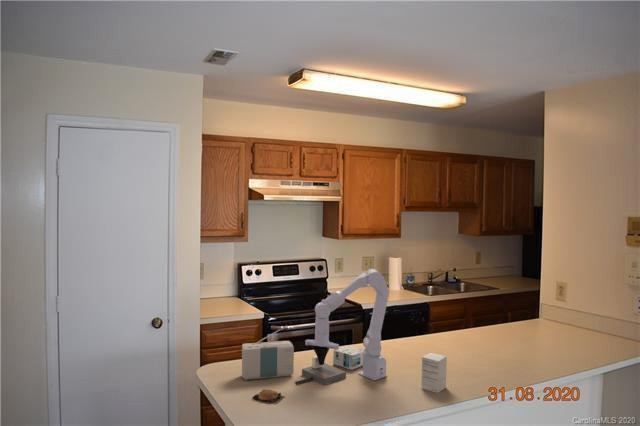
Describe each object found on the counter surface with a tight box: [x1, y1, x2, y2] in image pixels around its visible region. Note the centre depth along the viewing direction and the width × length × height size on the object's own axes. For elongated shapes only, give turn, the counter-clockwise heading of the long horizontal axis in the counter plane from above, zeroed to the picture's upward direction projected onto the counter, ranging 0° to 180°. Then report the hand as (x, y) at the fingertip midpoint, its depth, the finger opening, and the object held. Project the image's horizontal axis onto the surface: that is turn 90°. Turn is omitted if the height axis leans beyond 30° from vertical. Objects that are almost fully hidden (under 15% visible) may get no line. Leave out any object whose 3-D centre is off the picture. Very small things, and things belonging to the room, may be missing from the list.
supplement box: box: [421, 352, 447, 394], centre depth 191 cm, size 7×7×13 cm
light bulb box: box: [332, 345, 365, 371], centre depth 216 cm, size 11×7×11 cm
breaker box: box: [301, 362, 347, 386], centre depth 202 cm, size 14×12×2 cm
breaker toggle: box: [311, 355, 322, 369], centre depth 205 cm, size 2×4×4 cm, turn 130°
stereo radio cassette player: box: [241, 324, 295, 381], centre depth 201 cm, size 21×8×20 cm, turn 105°
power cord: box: [294, 377, 314, 386], centre depth 195 cm, size 1×8×1 cm, turn 130°
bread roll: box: [252, 389, 286, 405], centre depth 180 cm, size 11×8×4 cm
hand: (321, 364), depth 203 cm, fingers closed
